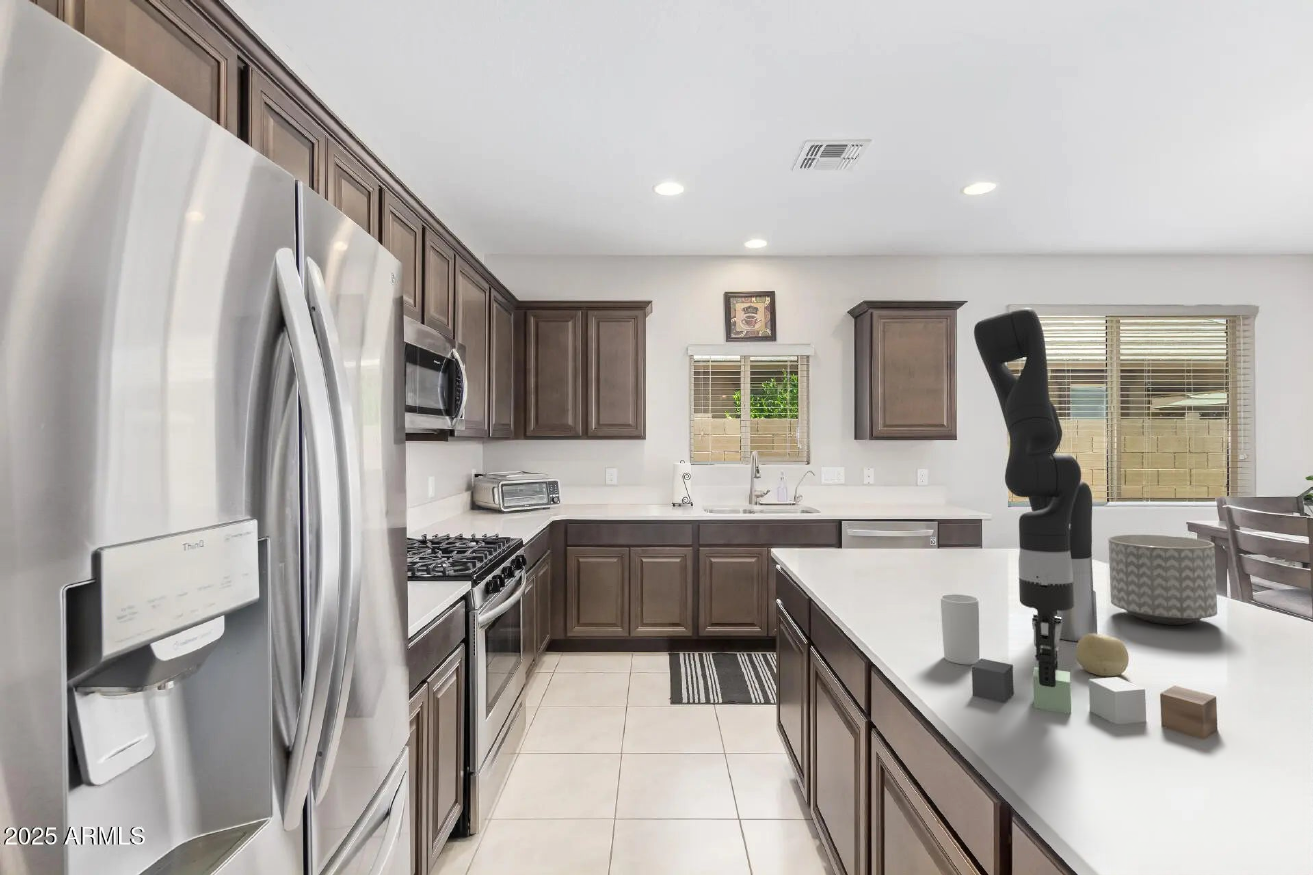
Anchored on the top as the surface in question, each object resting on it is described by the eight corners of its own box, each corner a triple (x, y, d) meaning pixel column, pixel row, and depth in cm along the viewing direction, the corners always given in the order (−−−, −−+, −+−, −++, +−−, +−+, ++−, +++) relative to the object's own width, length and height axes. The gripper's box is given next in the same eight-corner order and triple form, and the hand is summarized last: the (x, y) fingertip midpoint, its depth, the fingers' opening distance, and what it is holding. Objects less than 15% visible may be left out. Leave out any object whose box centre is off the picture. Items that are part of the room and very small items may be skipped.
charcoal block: (982, 686, 111) (981, 658, 111) (1013, 694, 107) (1012, 664, 107) (972, 695, 107) (971, 666, 107) (1005, 703, 104) (1004, 673, 104)
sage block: (1035, 696, 106) (1034, 666, 106) (1071, 702, 103) (1070, 671, 103) (1033, 707, 102) (1032, 676, 102) (1071, 714, 99) (1069, 682, 99)
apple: (1069, 671, 115) (1064, 629, 119) (1095, 682, 118) (1089, 641, 122) (1115, 670, 109) (1108, 625, 112) (1142, 681, 112) (1134, 637, 115)
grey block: (1118, 708, 101) (1117, 676, 101) (1146, 722, 96) (1145, 688, 96) (1089, 710, 100) (1088, 679, 100) (1116, 724, 95) (1114, 691, 95)
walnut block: (1175, 718, 96) (1174, 685, 96) (1217, 730, 92) (1216, 696, 92) (1161, 726, 94) (1160, 693, 94) (1203, 739, 90) (1202, 704, 90)
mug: (974, 668, 119) (972, 604, 120) (937, 660, 124) (935, 599, 124) (990, 653, 127) (987, 593, 127) (954, 647, 131) (952, 589, 132)
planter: (1208, 614, 148) (1205, 536, 148) (1226, 637, 132) (1223, 549, 132) (1108, 605, 158) (1105, 532, 158) (1114, 625, 142) (1111, 544, 142)
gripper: (1022, 567, 111) (1025, 660, 111) (1014, 582, 99) (1018, 687, 99) (1073, 571, 107) (1076, 667, 106) (1072, 587, 95) (1076, 696, 95)
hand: (1048, 676), depth 103 cm, fingers open, 8 cm apart
